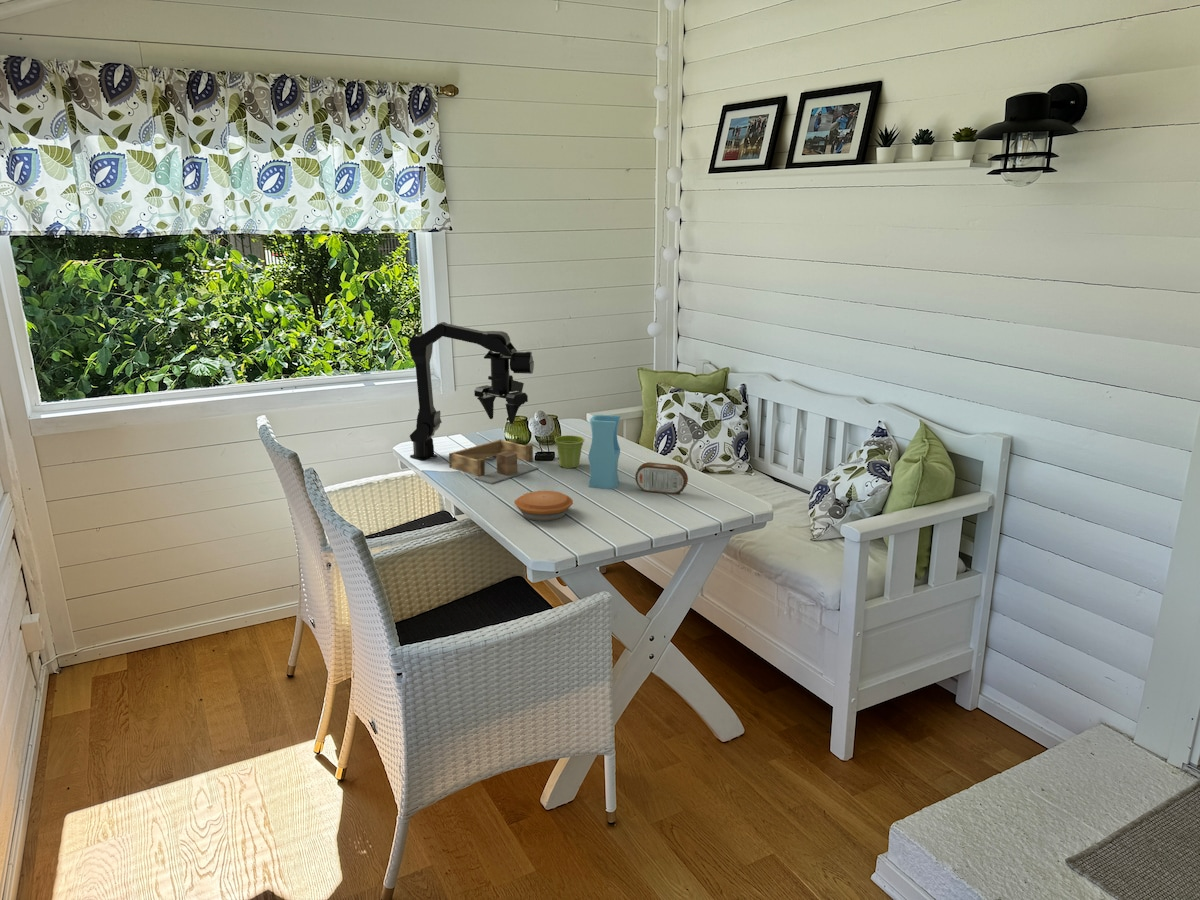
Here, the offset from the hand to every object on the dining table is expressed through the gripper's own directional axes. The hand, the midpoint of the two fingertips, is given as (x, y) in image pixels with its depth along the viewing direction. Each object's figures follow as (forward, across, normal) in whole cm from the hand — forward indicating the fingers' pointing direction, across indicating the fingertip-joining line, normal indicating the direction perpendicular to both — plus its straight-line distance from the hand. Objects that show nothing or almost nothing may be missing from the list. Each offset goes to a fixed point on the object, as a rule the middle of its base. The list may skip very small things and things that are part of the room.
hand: (501, 421), depth 278 cm
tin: (+13, -57, -8) cm, 59 cm away
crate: (+13, 0, +5) cm, 14 cm away
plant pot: (+13, -20, -10) cm, 26 cm away
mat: (+13, -12, +9) cm, 20 cm away
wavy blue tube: (+13, -40, -3) cm, 42 cm away
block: (+13, -11, +9) cm, 19 cm away
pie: (+13, -44, +27) cm, 53 cm away
